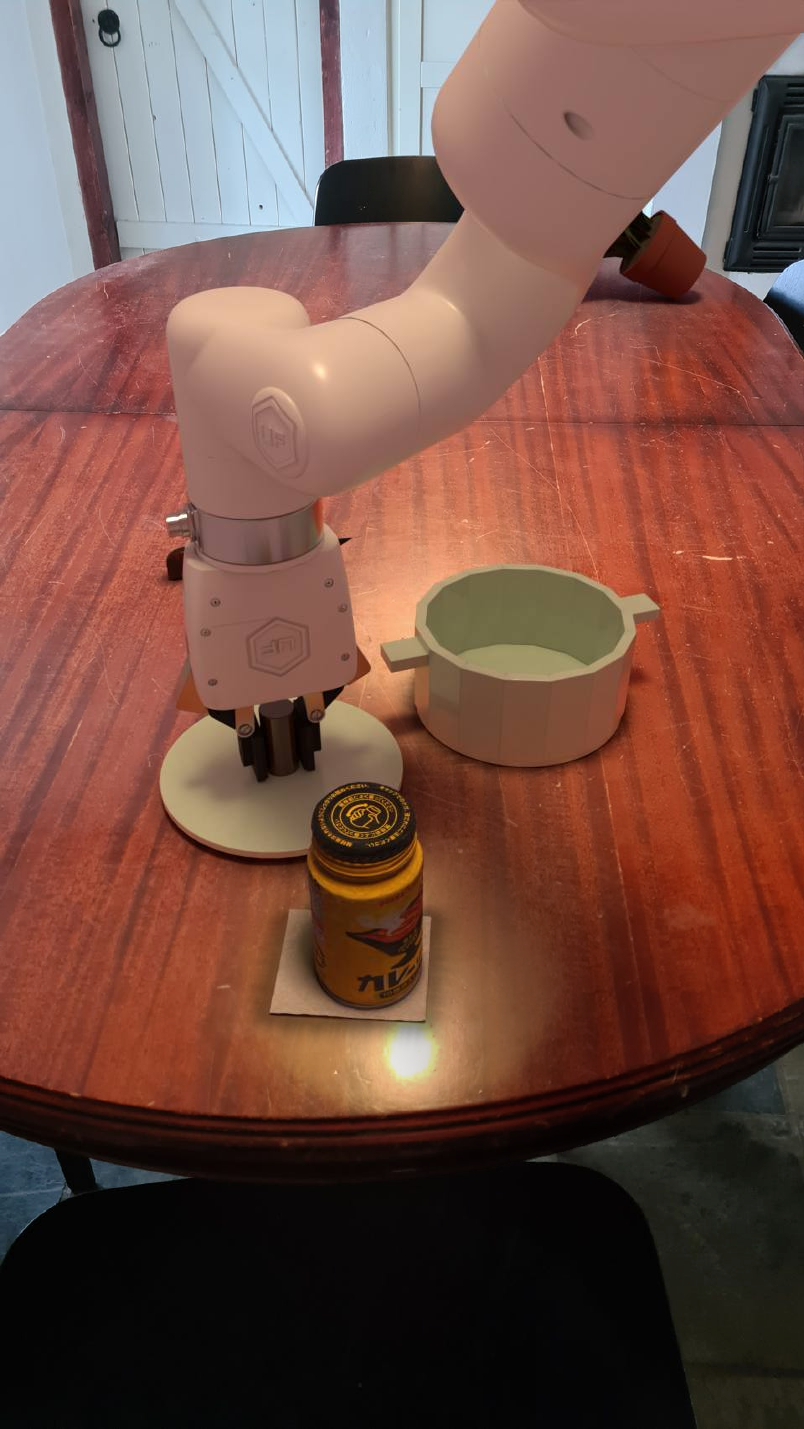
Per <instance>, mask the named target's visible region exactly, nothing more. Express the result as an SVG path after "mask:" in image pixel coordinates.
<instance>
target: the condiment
mask: <svg viewBox="0 0 804 1429" xmlns="http://www.w3.org/2000/svg"><path fill="white" fill-rule="evenodd" d="M417 825H418V821H417V815H416V812H415V809H414V808H413V806H412V803H411V802H410V801H409V800H408V798H407V797H406V796H405V795H404V794H402V793H401V792H400V790H399V791H398V790H396V789H393V788H391V787H389V786H386V785H382V784H378V783H373V782H354V783H347V784H345V785H342V786H339V787H338V788H336V789H334V790H333V791H331V792H330V793H328V794H327V795H326V796H325V797H324V798H323V799H322V800H320V801H319V802H318V803H317V805H316V807H315V809H314V812H313V816H312V819H311V829H312V838H311V842H312V843H311V845H310V848H309V851H308V854H307V856H306V868H307V869H306V870H307V878H308V880H307V886H308V887H307V888H308V891H309V903H310V909H306V908H303V909H298V908H289V910H288V916H287V922H286V928H285V933H284V938H283V943H282V949H281V955H280V959H279V964H278V970H277V974H276V979H275V983H274V990H273V994H272V998H271V1003H270V1008H269V1013H270V1014H290V1015H291V1014H292V1015H310V1016H329V1017H339V1018H340V1017H341V1018H350V1019H351V1018H352V1019H366V1020H367V1019H368V1020H369V1019H370V1020H371V1019H372V1020H385V1021H402V1022H403V1021H404V1022H421V1021H426V1018H427V1017H426V1016H427V1002H428V1001H427V998H428V984H429V983H428V981H429V967H430V966H429V963H430V946H431V930H432V929H431V927H432V926H431V925H432V916H427V915H426V916H424V868H425V865H424V864H425V860H424V852H423V848H422V844H421V843H420V841H419V839H418V833H417Z"/></svg>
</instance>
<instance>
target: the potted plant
mask: <svg viewBox="0 0 804 1429" xmlns="http://www.w3.org/2000/svg"><path fill="white" fill-rule="evenodd" d="M460 206H461V207H463V206H462V205H461V204H460ZM609 258H618V259H622V260H621V261H620V265H619V268H618V273H619V274H620V275H621V276H623V277H624V278H626V279H627V280H630V282H632V283H634V284H635V283H637V284H639V285H642V286H643V287H646V288H648V289H649V290H652V291H654V292H657V293H659V294H661V295H663V296H665V297H667V298H669V299H672V300H674V301H677V300H680V299H681V298H682V297H684V296H685V295H686V294H687V293H688V292H689V291H690V290H691V289H692V287H693V286H694V285H695V284H696V282H697V281H698V279H699V278H700V276H701V274H702V273H703V271H704V269H705V266H706V264H707V260H708V258H707V254H706V253H705V252H704V251H703V250H702V249H701V248H700V247H699V246H698V245H697V243H696V242H695V241H694V240H693V239H692V238H691V237H690V235H689V234H687V232H686V231H684V229H683V228H682V227H681V226H680V225H679V224H678V222H677V220H676V218H674V217H672V216H671V215H670V214H669V213H668V212H666V211H665V210H663V209H659V210H658V211H656V212H654V213H653V214H652V215H651V216H650V217H649V216H648V215H647V214H645V213H644V211H643V210H642V211H641V212H640V213H639V214H638V215H637V216H636V217H635V218H634V220H633V221H632V222H631V223H630V224H629V225H628V226H627V228H626V229H625V230H624V231H623V232H622V233H621V234H620V236H619V237H618V238H617V239H616V240H615V241H614V242H613V244H612V245H611V246H610V247H609V248H608V249H607V251H606V252H605V254H604V256H603V259H609Z"/></svg>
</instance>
